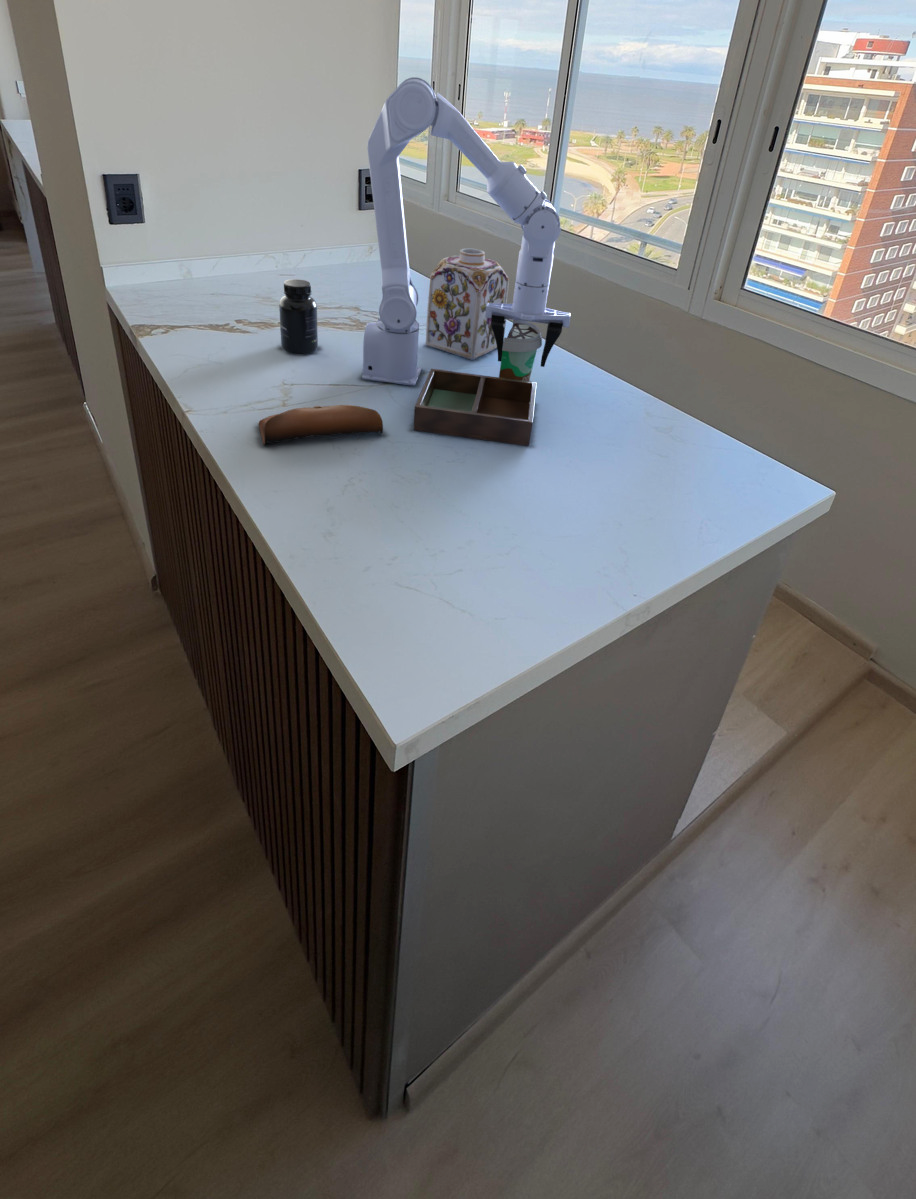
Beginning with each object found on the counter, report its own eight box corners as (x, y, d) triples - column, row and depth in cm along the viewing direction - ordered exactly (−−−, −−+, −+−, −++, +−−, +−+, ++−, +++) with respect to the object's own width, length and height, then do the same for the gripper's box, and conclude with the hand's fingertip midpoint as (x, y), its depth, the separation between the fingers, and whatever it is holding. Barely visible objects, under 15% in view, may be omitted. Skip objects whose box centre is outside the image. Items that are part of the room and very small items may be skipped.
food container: (529, 401, 128) (539, 344, 122) (495, 395, 129) (503, 338, 122) (538, 376, 138) (547, 323, 131) (506, 370, 138) (514, 317, 132)
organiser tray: (413, 430, 115) (414, 406, 112) (429, 390, 128) (430, 368, 125) (528, 446, 114) (532, 422, 111) (533, 404, 127) (536, 382, 124)
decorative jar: (473, 361, 141) (483, 262, 130) (423, 346, 145) (429, 249, 134) (503, 346, 149) (515, 252, 138) (455, 332, 153) (463, 239, 142)
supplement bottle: (274, 350, 136) (269, 283, 129) (294, 340, 141) (290, 274, 134) (306, 358, 135) (303, 290, 127) (325, 347, 140) (323, 281, 132)
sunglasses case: (368, 411, 117) (374, 385, 111) (378, 448, 115) (386, 424, 109) (254, 420, 111) (255, 393, 105) (263, 460, 109) (264, 435, 103)
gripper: (487, 283, 119) (479, 364, 128) (575, 294, 119) (561, 375, 127) (491, 272, 125) (483, 351, 133) (575, 282, 124) (561, 361, 132)
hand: (521, 362), depth 130 cm, fingers open, 7 cm apart
